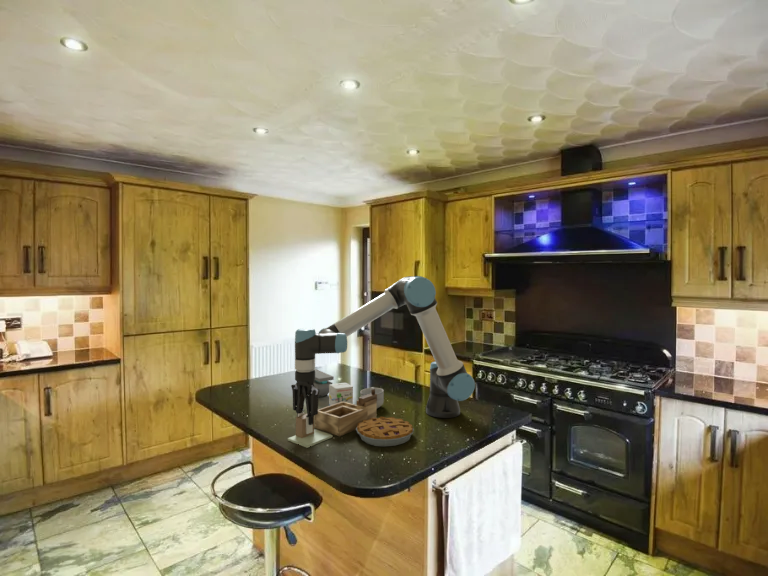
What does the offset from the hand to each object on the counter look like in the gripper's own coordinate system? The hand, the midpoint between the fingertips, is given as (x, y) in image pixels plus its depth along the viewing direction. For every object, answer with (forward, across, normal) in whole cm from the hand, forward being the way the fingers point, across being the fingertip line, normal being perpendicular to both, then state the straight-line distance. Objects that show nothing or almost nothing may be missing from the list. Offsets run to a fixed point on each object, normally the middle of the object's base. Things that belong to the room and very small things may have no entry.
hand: (305, 431), depth 160 cm
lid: (+2, -3, 0) cm, 4 cm away
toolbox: (+2, -3, -20) cm, 20 cm away
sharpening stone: (+2, +40, -42) cm, 58 cm away
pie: (+3, -23, -20) cm, 30 cm away
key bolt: (-5, -7, -29) cm, 30 cm away
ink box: (+2, +11, -30) cm, 33 cm away
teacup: (+2, +4, -44) cm, 45 cm away
